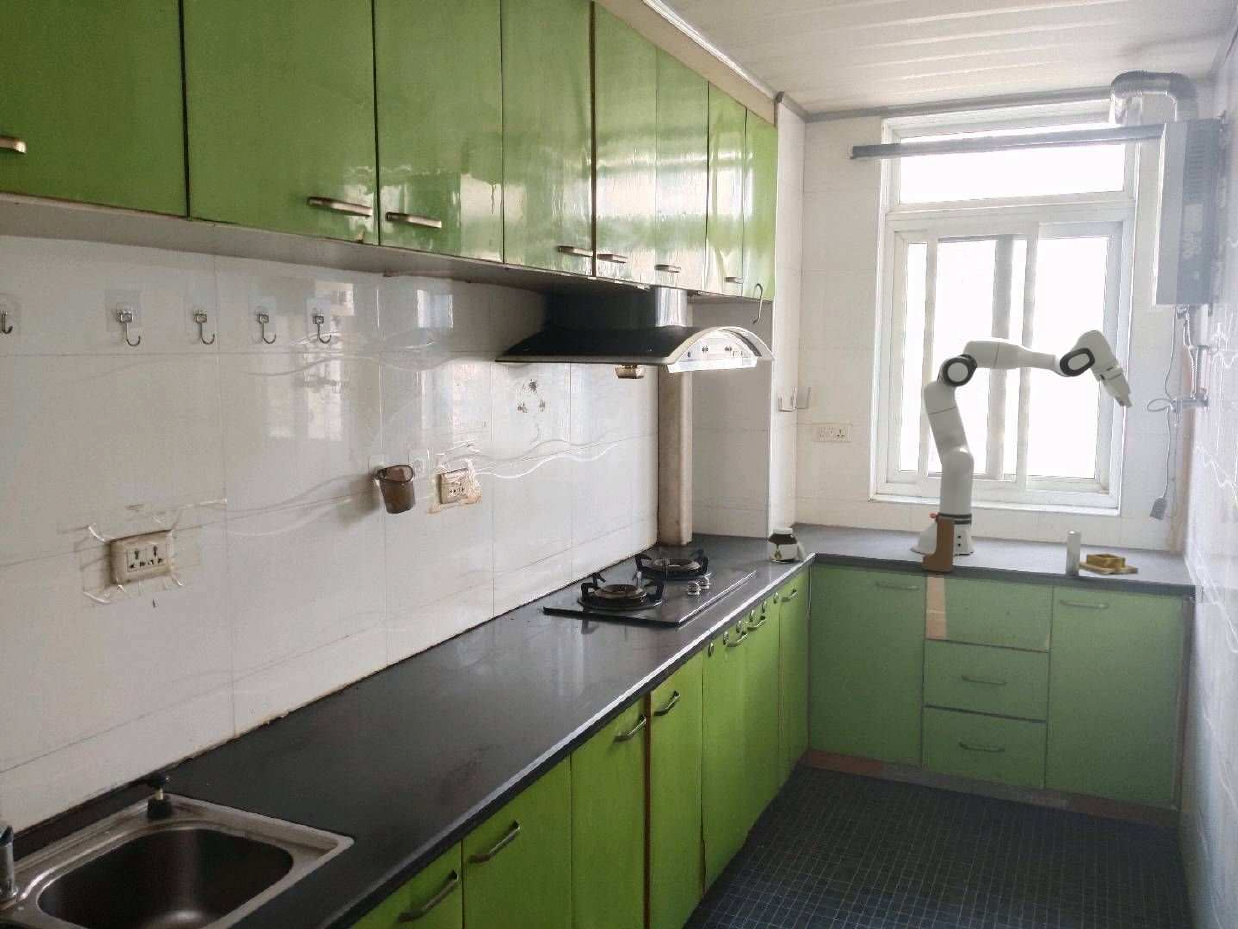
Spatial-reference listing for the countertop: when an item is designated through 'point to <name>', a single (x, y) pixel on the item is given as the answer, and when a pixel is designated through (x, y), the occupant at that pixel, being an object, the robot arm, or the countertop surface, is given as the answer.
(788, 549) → the spread jar
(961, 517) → the robot arm
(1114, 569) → the socket block
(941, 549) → the wooden block
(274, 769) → the countertop surface
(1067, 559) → the steel pin
